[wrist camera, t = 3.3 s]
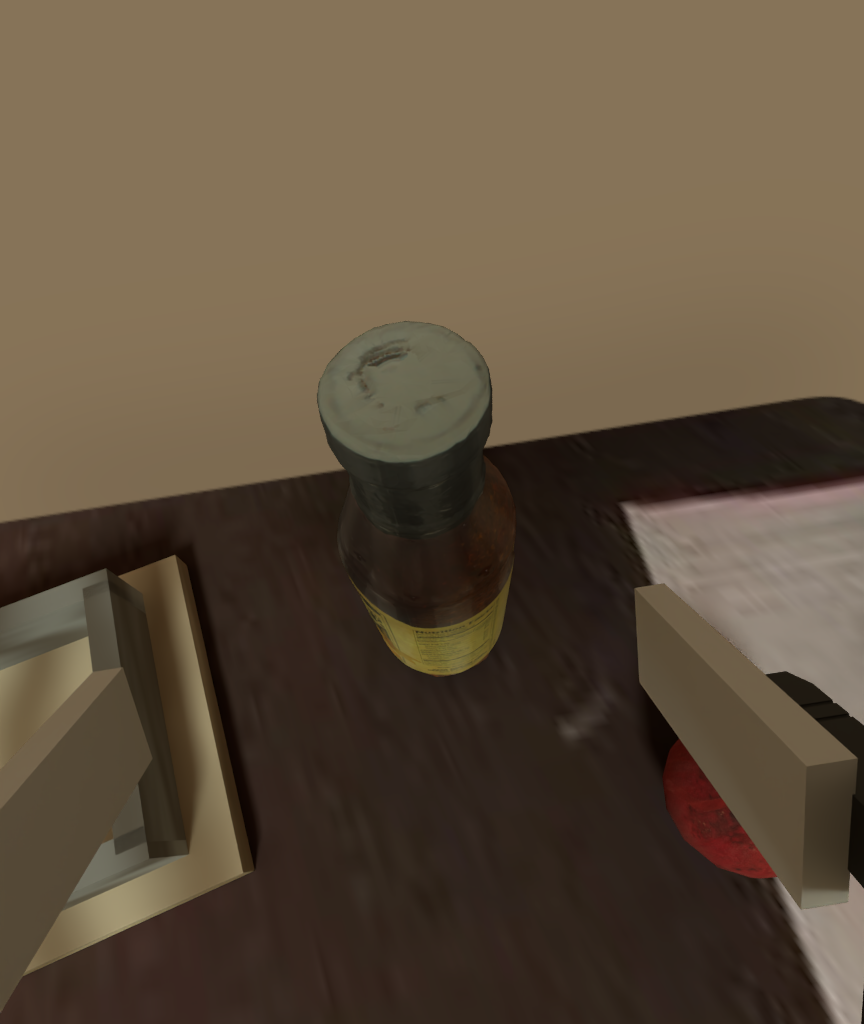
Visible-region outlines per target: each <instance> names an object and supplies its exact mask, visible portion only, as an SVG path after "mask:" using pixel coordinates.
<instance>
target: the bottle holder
mask: <svg viewBox="0 0 864 1024" xmlns="http://www.w3.org/2000/svg"><path fill="white" fill-rule="evenodd" d="M122 667H123V669H124V672H125V676H126V679H127V682H128V685H129V688H130V691H131V694H132V697H133V700H134V703H135V706H136V709H137V712H138V715H139V718H140V722H141V725H142V728H143V731H144V734H145V737H146V740H147V743H148V746H149V749H150V752H151V755H152V758H153V759H152V760H151V762H150V764H149V765H148V767H147V769H146V770H145V772H144V774H143V775H142V777H141V779H140V780H139V782H138V784H137V785H136V787H135V789H134V790H133V792H132V794H131V795H130V797H129V799H128V800H127V802H126V804H125V805H124V807H123V809H122V810H121V812H120V814H119V815H118V817H117V819H116V820H115V822H114V824H113V825H112V827H111V829H110V830H109V832H108V834H107V835H106V837H105V839H104V841H103V842H102V844H101V846H100V847H99V849H98V851H97V852H96V854H95V856H94V857H93V859H92V861H91V862H90V864H89V866H88V867H87V869H86V871H85V872H84V874H83V876H82V877H81V879H80V881H79V882H78V884H77V886H76V887H75V889H74V891H73V892H72V894H71V896H70V897H69V899H68V901H67V902H66V904H65V906H64V907H63V909H62V911H61V912H60V914H59V916H58V917H57V919H56V921H55V922H54V924H53V926H52V927H51V929H50V931H49V932H48V934H47V936H46V937H45V939H44V941H43V942H42V944H41V946H40V947H39V949H38V951H37V952H36V954H35V956H34V957H33V959H32V961H31V963H30V964H29V966H28V968H27V969H26V971H25V973H24V974H23V976H24V975H27V974H29V973H31V972H33V971H35V970H38V969H40V968H42V967H44V966H46V965H48V964H51V963H53V962H55V961H57V960H59V959H62V958H64V957H66V956H68V955H70V954H73V953H75V952H77V951H79V950H81V949H84V948H86V947H88V946H90V945H92V944H95V943H97V942H99V941H101V940H103V939H106V938H108V937H110V936H112V935H114V934H117V933H119V932H121V931H123V930H125V929H128V928H130V927H132V926H134V925H136V924H139V923H141V922H143V921H145V920H147V919H150V918H152V917H154V916H156V915H158V914H161V913H163V912H165V911H167V910H169V909H172V908H174V907H176V906H178V905H180V904H182V903H185V902H187V901H189V900H191V899H193V898H196V897H198V896H200V895H202V894H204V893H207V892H209V891H211V890H213V889H215V888H218V887H220V886H222V885H224V884H226V883H229V882H231V881H233V880H235V879H237V878H240V877H242V876H244V875H246V874H248V873H251V872H253V871H255V870H254V865H253V861H252V856H251V852H250V847H249V843H248V838H247V834H246V829H245V825H244V820H243V816H242V811H241V807H240V802H239V798H238V793H237V789H236V784H235V780H234V775H233V771H232V766H231V762H230V757H229V753H228V748H227V744H226V739H225V735H224V730H223V726H222V721H221V717H220V712H219V708H218V703H217V699H216V694H215V690H214V685H213V681H212V676H211V672H210V667H209V663H208V658H207V654H206V649H205V645H204V640H203V636H202V631H201V627H200V622H199V618H198V613H197V609H196V604H195V600H194V595H193V591H192V586H191V582H190V577H189V573H188V568H187V565H186V564H185V563H184V562H183V561H181V560H180V559H179V558H178V557H177V556H176V555H173V556H171V557H168V558H165V559H163V560H160V561H157V562H155V563H152V564H149V565H147V566H144V567H141V568H139V569H136V570H134V571H131V572H128V573H126V574H123V575H120V576H116V575H115V574H114V573H112V572H111V571H109V570H108V569H106V568H105V569H103V570H100V571H98V572H95V573H92V574H90V575H87V576H84V577H82V578H79V579H76V580H74V581H71V582H68V583H66V584H63V585H60V586H58V587H55V588H52V589H50V590H47V591H44V592H42V593H39V594H36V595H34V596H31V597H28V598H26V599H23V600H20V601H18V602H15V603H12V604H10V605H7V606H4V607H2V608H0V770H1V769H2V768H3V767H4V766H5V765H6V764H7V763H8V761H9V760H10V759H11V758H12V757H13V756H14V755H15V754H16V753H17V752H18V751H19V750H20V749H21V748H22V747H23V746H24V744H25V743H26V742H27V741H28V740H29V739H30V738H31V737H32V736H33V735H34V734H35V733H36V732H37V731H38V730H39V728H40V727H41V726H42V725H43V724H44V723H45V722H46V721H47V720H48V719H49V718H50V717H51V716H52V715H53V714H54V713H55V711H56V710H57V709H58V708H59V707H60V706H61V705H62V704H63V703H64V702H65V701H66V700H67V699H68V698H69V697H70V696H71V694H72V693H73V692H74V691H75V690H76V689H77V688H78V687H79V686H80V685H81V684H82V683H83V682H84V681H85V680H86V679H87V677H88V676H89V675H90V674H91V673H92V672H96V671H102V670H109V669H115V668H122Z"/></svg>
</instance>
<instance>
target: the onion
mask: <svg viewBox="0 0 864 1024" xmlns="http://www.w3.org/2000/svg"><path fill="white" fill-rule="evenodd" d="M663 785H664V793H665V801H666V808H667V810H668V812H669V814H670V816H671V817H672V819H673V821H674V823H675V824H676V826H677V828H678V830H679V832H680V833H681V835H682V837H683V839H684V840H685V841H687V842H688V843H689V844H690V845H691V846H693V847H694V848H695V849H696V850H698V851H699V852H700V853H701V854H702V855H704V856H705V857H706V858H707V859H709V860H710V861H711V862H712V863H713V864H715V865H716V866H717V867H718V868H722V869H725V870H728V871H731V872H735V873H738V874H741V875H744V876H748V877H751V878H769V877H777V875H776V874H775V872H774V871H773V870H772V868H771V867H770V865H769V864H768V863H767V861H766V860H765V858H764V857H763V856H762V854H761V853H760V851H759V850H758V848H757V847H756V846H755V844H754V843H753V841H752V840H751V839H750V837H749V836H748V834H747V833H746V832H745V830H744V829H743V827H742V826H741V825H740V823H739V822H738V820H737V819H736V818H735V816H734V815H733V813H732V812H731V810H730V809H729V808H728V806H727V805H726V803H725V802H724V801H723V799H722V798H721V796H720V795H719V794H718V792H717V791H716V789H715V788H714V787H713V785H712V784H711V782H710V781H709V780H708V778H707V777H706V775H705V774H704V772H703V771H702V770H701V768H700V767H699V765H698V764H697V763H696V761H695V760H694V758H693V757H692V756H691V754H690V753H689V751H688V750H687V749H686V747H685V746H684V744H683V743H682V742H681V740H680V739H678V740H677V742H676V743H675V744H674V745H673V746H672V748H671V749H670V750H669V754H668V758H667V761H666V765H665V769H664V773H663Z"/></svg>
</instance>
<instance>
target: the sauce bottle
mask: <svg viewBox="0 0 864 1024" xmlns="http://www.w3.org/2000/svg"><path fill="white" fill-rule="evenodd" d="M317 403H318V408H319V413H320V417H321V421H322V424H323V427H324V430H325V433H326V437H327V442H328V444H329V446H330V448H331V450H332V451H333V453H334V455H335V456H336V458H337V459H338V461H339V462H340V464H341V465H342V466H343V467H344V468H345V469H346V470H347V472H348V474H349V476H350V477H349V481H350V486H349V489H348V493H347V496H346V500H345V503H344V506H343V509H342V511H341V514H340V517H339V521H338V529H337V541H338V548H339V553H340V556H341V559H342V562H343V565H344V567H345V569H346V572H347V574H348V575H349V578H350V579H351V581H352V583H353V585H354V586H355V588H356V590H357V591H358V593H359V595H360V597H361V598H362V600H363V602H364V604H365V606H366V608H367V609H368V611H369V614H370V616H371V618H372V619H373V620H374V622H375V624H376V626H377V627H378V629H379V631H380V633H381V635H382V636H383V638H384V640H385V642H386V643H387V645H388V647H389V648H390V650H391V651H392V652H393V653H394V655H395V656H396V657H398V658H399V659H400V660H401V661H402V662H403V663H404V664H406V665H407V666H409V667H411V668H413V669H415V670H418V671H421V672H424V673H427V674H429V675H433V676H437V677H439V676H446V675H455V674H456V673H460V672H463V671H465V670H467V669H469V668H471V667H473V666H474V665H478V664H479V663H480V662H482V661H483V660H484V659H485V658H486V657H487V656H488V653H489V652H490V650H491V649H492V648H493V646H494V645H495V643H496V641H497V639H498V637H499V634H500V632H501V629H502V624H503V619H504V613H505V608H506V602H507V597H508V591H509V585H510V580H511V574H512V568H513V562H514V551H513V547H514V540H515V534H516V512H515V505H514V503H513V498H512V496H511V493H510V491H509V488H508V486H507V483H506V481H505V480H504V478H503V477H502V475H501V473H500V472H499V470H498V469H497V467H496V466H494V465H493V464H492V463H491V462H490V460H489V459H488V458H487V457H485V456H484V455H483V448H484V446H485V444H486V441H487V438H488V437H489V434H490V427H491V424H492V386H491V379H490V373H489V369H488V366H487V365H486V362H485V360H484V358H483V357H482V355H481V354H480V353H479V351H478V350H477V349H476V348H475V347H474V346H473V345H472V344H471V343H469V342H467V341H465V340H464V339H463V338H462V337H461V336H459V335H458V334H456V333H455V332H453V331H451V330H449V329H447V328H445V327H443V326H438V325H434V324H430V323H422V322H410V321H404V322H398V323H392V324H386V325H383V326H380V327H375V328H373V329H371V330H369V331H367V332H365V333H363V334H362V335H360V336H358V337H357V338H355V339H354V340H352V341H351V342H350V343H349V344H347V345H346V346H345V347H344V348H342V349H341V350H340V351H339V353H337V355H336V356H335V357H334V358H333V359H332V360H331V361H330V363H329V364H328V365H327V367H326V369H325V372H324V374H323V376H322V377H321V379H320V381H319V386H318V393H317Z"/></svg>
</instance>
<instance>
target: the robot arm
mask: <svg viewBox="0 0 864 1024" xmlns="http://www.w3.org/2000/svg"><path fill="white" fill-rule="evenodd" d="M635 607H636V626H637V646H638V665H639V682H640V684H641V685H642V687H643V688H644V689H645V691H646V692H647V694H648V695H649V696H650V698H651V699H652V701H653V702H654V704H655V705H656V706H657V708H658V709H659V711H660V712H661V713H662V715H663V716H664V718H665V719H666V720H667V722H668V723H669V725H670V726H671V727H672V729H673V730H674V732H675V733H676V734H677V736H678V737H679V739H680V740H681V742H682V743H683V744H684V746H685V747H686V749H687V750H688V751H689V753H690V754H691V756H692V757H693V758H694V760H695V761H696V763H697V764H698V765H699V767H700V768H701V770H702V771H703V772H704V774H705V775H706V777H707V778H708V780H709V781H710V782H711V784H712V785H713V787H714V788H715V789H716V791H717V792H718V794H719V795H720V796H721V798H722V799H723V801H724V802H725V803H726V805H727V806H728V808H729V809H730V810H731V812H732V813H733V815H734V816H735V818H736V819H737V820H738V822H739V823H740V825H741V826H742V827H743V829H744V830H745V832H746V833H747V834H748V836H749V837H750V839H751V840H752V841H753V843H754V844H755V846H756V847H757V848H758V850H759V851H760V853H761V854H762V856H763V857H764V858H765V860H766V861H767V863H768V864H769V865H770V867H771V868H772V870H773V871H774V872H775V874H776V875H777V877H778V878H779V879H780V881H781V882H782V884H783V885H784V886H785V888H786V889H787V891H788V892H789V894H790V895H791V896H792V898H793V899H794V901H795V902H796V903H797V905H798V906H799V908H800V909H801V910H802V909H809V908H815V907H821V906H827V905H833V904H840V903H846V902H848V894H849V880H850V873H851V874H852V875H853V876H854V877H855V878H856V880H857V881H858V882H859V883H860V884H861V885H862V887H863V888H864V725H862V724H861V723H860V722H859V721H858V720H856V719H855V718H854V717H850V716H849V713H848V712H847V711H845V710H844V709H843V708H842V707H840V706H839V705H838V704H837V703H833V701H832V699H831V698H830V697H828V696H827V695H826V694H825V693H823V692H822V691H821V690H820V689H819V688H817V687H816V686H815V685H814V684H812V683H810V682H808V681H806V680H804V679H801V678H799V677H797V676H795V675H793V674H791V673H788V672H786V671H785V672H778V673H772V674H766V675H765V674H764V673H763V672H762V671H760V670H759V669H758V668H757V667H756V666H755V665H754V664H753V663H752V662H750V661H749V660H748V659H747V658H746V657H745V656H744V655H743V654H742V653H741V652H739V651H738V650H737V649H736V648H735V647H734V646H733V645H732V644H731V643H729V642H728V641H727V640H726V639H725V638H724V637H723V636H722V635H721V634H719V633H718V632H717V631H716V630H715V629H714V628H713V627H712V626H711V625H709V624H708V623H707V622H706V621H705V620H704V619H703V618H702V617H701V616H699V615H698V614H697V613H696V612H695V611H694V610H693V609H692V608H691V607H690V606H688V605H687V604H686V603H685V602H684V601H683V600H682V599H681V598H680V597H678V596H677V595H676V594H675V593H674V592H673V591H672V590H671V589H670V588H668V587H667V586H666V585H665V584H658V585H651V586H645V587H638V588H635ZM152 759H153V758H152V755H151V752H150V749H149V746H148V743H147V740H146V737H145V734H144V731H143V728H142V725H141V722H140V718H139V715H138V712H137V709H136V706H135V703H134V700H133V697H132V694H131V691H130V688H129V685H128V682H127V679H126V676H125V672H124V669H123V667H122V668H115V669H109V670H102V671H96V672H92V673H91V674H90V675H89V676H88V677H87V679H86V680H85V681H84V682H83V683H82V684H81V685H80V686H79V687H78V688H77V689H76V690H75V691H74V692H73V693H72V694H71V696H70V697H69V698H68V699H67V700H66V701H65V702H64V703H63V704H62V705H61V706H60V707H59V708H58V709H57V710H56V711H55V713H54V714H53V715H52V716H51V717H50V718H49V719H48V720H47V721H46V722H45V723H44V724H43V725H42V726H41V727H40V728H39V730H38V731H37V732H36V733H35V734H34V735H33V736H32V737H31V738H30V739H29V740H28V741H27V742H26V743H25V744H24V746H23V747H22V748H21V749H20V750H19V751H18V752H17V753H16V754H15V755H14V756H13V757H12V758H11V759H10V760H9V761H8V763H7V764H6V765H5V766H4V767H3V768H2V769H1V770H0V1013H1V1011H2V1009H3V1008H4V1006H5V1004H6V1003H7V1001H8V999H9V998H10V996H11V994H12V993H13V991H14V989H15V988H16V986H17V984H18V983H19V981H20V979H21V978H22V976H23V974H24V973H25V971H26V969H27V968H28V966H29V964H30V963H31V961H32V959H33V957H34V956H35V954H36V952H37V951H38V949H39V947H40V946H41V944H42V942H43V941H44V939H45V937H46V936H47V934H48V932H49V931H50V929H51V927H52V926H53V924H54V922H55V921H56V919H57V917H58V916H59V914H60V912H61V911H62V909H63V907H64V906H65V904H66V902H67V901H68V899H69V897H70V896H71V894H72V892H73V891H74V889H75V887H76V886H77V884H78V882H79V881H80V879H81V877H82V876H83V874H84V872H85V871H86V869H87V867H88V866H89V864H90V862H91V861H92V859H93V857H94V856H95V854H96V852H97V851H98V849H99V847H100V846H101V844H102V842H103V841H104V839H105V837H106V835H107V834H108V832H109V830H110V829H111V827H112V825H113V824H114V822H115V820H116V819H117V817H118V815H119V814H120V812H121V810H122V809H123V807H124V805H125V804H126V802H127V800H128V799H129V797H130V795H131V794H132V792H133V790H134V789H135V787H136V785H137V784H138V782H139V780H140V779H141V777H142V775H143V774H144V772H145V770H146V769H147V767H148V765H149V764H150V762H151V760H152ZM861 1024H864V991H863V1006H862V1022H861Z"/></svg>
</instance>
